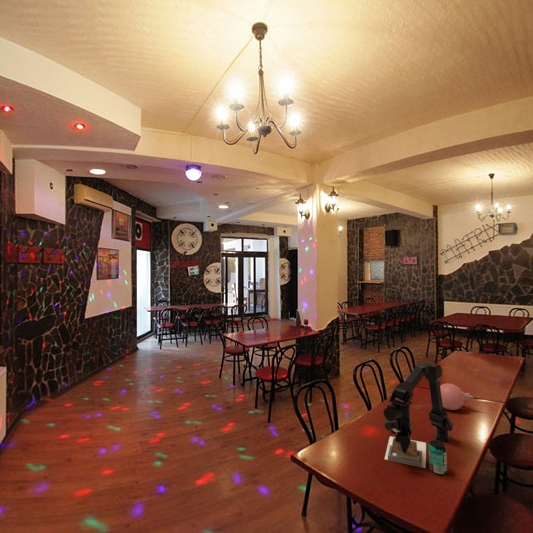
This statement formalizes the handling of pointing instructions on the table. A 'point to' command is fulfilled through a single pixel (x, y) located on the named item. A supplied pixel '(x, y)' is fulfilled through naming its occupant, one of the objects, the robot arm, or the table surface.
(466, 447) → the table surface
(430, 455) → the beverage can
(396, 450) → the card box
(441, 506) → the table surface
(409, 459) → the mat
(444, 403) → the balloon
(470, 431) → the table surface
